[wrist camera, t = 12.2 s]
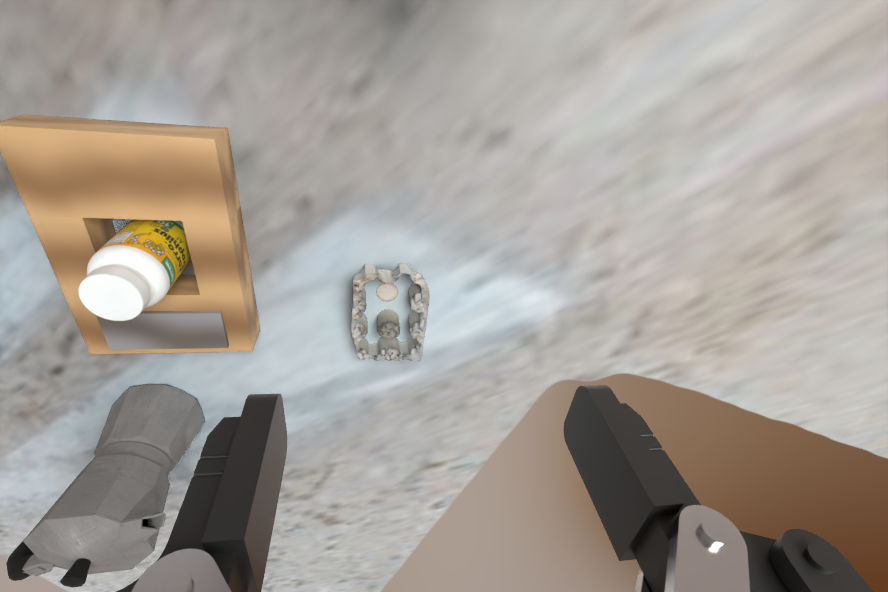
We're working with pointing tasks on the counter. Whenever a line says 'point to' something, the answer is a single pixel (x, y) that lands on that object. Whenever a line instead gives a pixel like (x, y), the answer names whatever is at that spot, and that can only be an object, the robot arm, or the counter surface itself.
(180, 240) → the supplement bottle
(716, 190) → the counter surface
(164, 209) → the jig
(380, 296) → the egg carton
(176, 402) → the coffeepot
